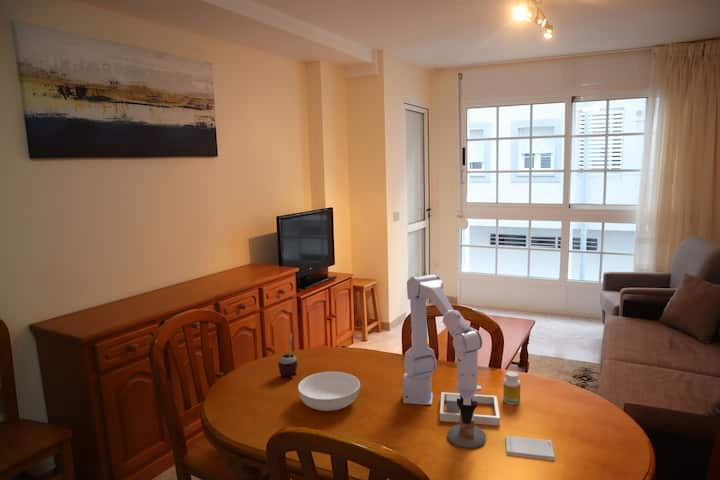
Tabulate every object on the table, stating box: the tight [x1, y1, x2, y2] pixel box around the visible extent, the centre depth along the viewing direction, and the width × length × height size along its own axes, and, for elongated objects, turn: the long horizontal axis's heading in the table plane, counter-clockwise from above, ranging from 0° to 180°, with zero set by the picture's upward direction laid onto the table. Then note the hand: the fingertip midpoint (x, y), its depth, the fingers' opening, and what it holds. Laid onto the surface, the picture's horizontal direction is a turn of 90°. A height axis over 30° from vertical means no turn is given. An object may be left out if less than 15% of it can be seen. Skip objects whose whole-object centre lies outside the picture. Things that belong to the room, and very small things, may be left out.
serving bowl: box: [297, 371, 361, 412], centre depth 165 cm, size 21×21×7 cm
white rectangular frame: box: [439, 391, 501, 426], centre depth 157 cm, size 18×14×2 cm
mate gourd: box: [278, 333, 298, 380], centre depth 186 cm, size 8×8×15 cm
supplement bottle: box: [502, 370, 521, 406], centre depth 163 cm, size 5×5×10 cm
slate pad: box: [446, 423, 487, 450], centre depth 143 cm, size 11×11×1 cm
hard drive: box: [505, 435, 556, 461], centre depth 137 cm, size 2×8×12 cm
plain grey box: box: [446, 394, 461, 413], centre depth 156 cm, size 4×4×6 cm
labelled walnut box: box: [459, 412, 475, 439], centre depth 143 cm, size 4×4×6 cm
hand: (466, 415), depth 142 cm, fingers open, 7 cm apart
